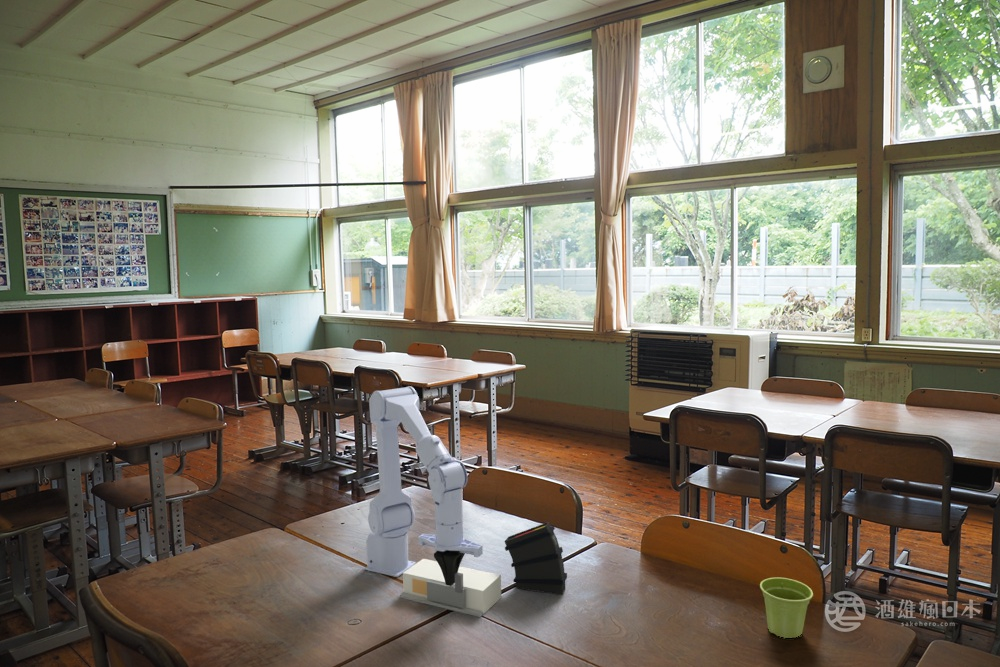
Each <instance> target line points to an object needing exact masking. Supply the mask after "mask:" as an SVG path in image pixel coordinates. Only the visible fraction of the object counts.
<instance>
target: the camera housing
mask: <svg viewBox="0 0 1000 667" xmlns="http://www.w3.org/2000/svg"><path fill="white" fill-rule="evenodd" d="M458 573H462V574H463V588H465V600H466V607H465V608H460V607H456V606H452V605H448V604H444V603H439V602H435V601H431V600H427V581H428V580H431V581H435V582H440V583H444V584H446V583H445V579H444V576H443V573H442V570H441V568H440V566H439V564H438V562H437V561H436V560H433V559H427V558H422V559H421V560H419V561H418V562H416V564H415V565H413V566H412V567H410V568H409V569H408V570H406V571H405V572H403V574H402V582H403V583H402V585H403V586H402V588H403V592H402V593H400V594H399V598H400V599H401V598H402V599H405V600H410V601H413V602H417V603H420V604H421V603H422V604H425V605H429V606H434V607H438V608H442V609H446V610H449V611H454V612H457V613H463V614H466V615H470V616H473V617H474V616H475V617H477V618H478V617H479V618H481V617H483V615H485V613H486V612H488V610H489V609H491V608H492V607H493V606H494V605H495V604H496V603H497V602H498V601H499V600H500V599H501V598H502V576H501V574H498V573H494V572H493V573H492V572H488V571H484V570H479V569H473V568H469V567H465V566H461V565H460V566H459V569H458ZM453 586H455V583H454V584H453Z"/></svg>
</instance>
